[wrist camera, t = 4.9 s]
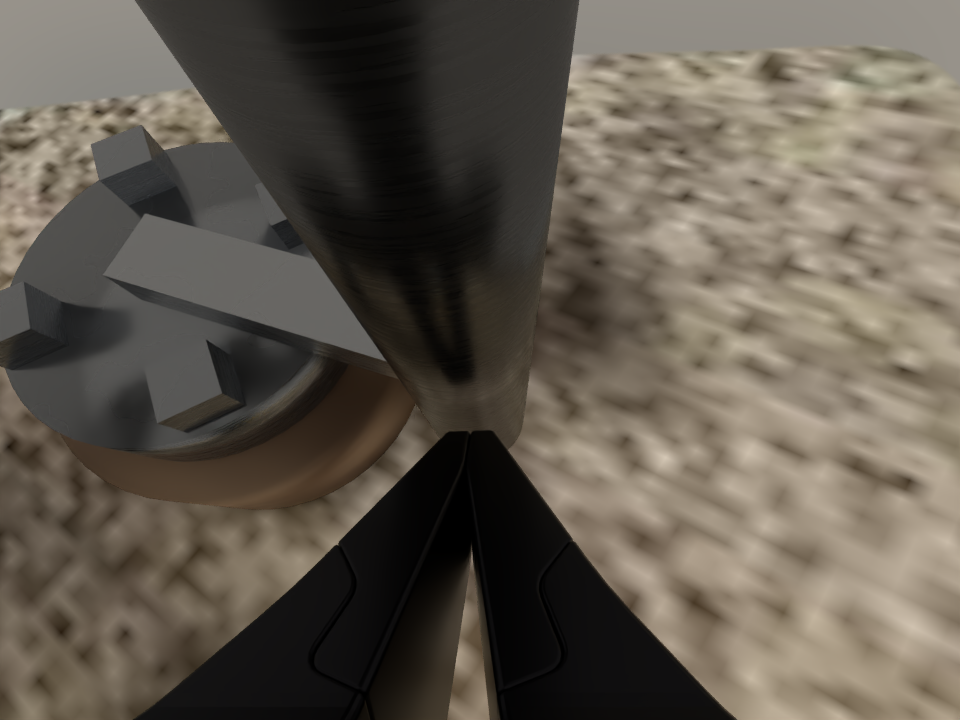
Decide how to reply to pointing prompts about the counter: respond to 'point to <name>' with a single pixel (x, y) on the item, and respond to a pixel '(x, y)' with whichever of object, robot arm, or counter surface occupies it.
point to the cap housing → (275, 453)
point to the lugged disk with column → (306, 228)
